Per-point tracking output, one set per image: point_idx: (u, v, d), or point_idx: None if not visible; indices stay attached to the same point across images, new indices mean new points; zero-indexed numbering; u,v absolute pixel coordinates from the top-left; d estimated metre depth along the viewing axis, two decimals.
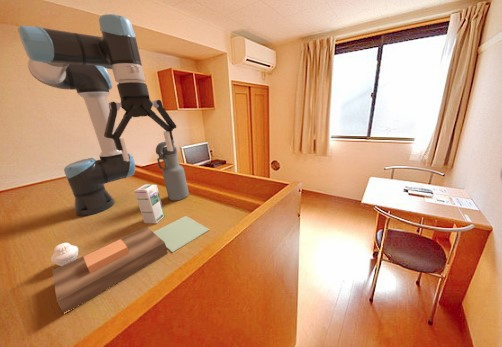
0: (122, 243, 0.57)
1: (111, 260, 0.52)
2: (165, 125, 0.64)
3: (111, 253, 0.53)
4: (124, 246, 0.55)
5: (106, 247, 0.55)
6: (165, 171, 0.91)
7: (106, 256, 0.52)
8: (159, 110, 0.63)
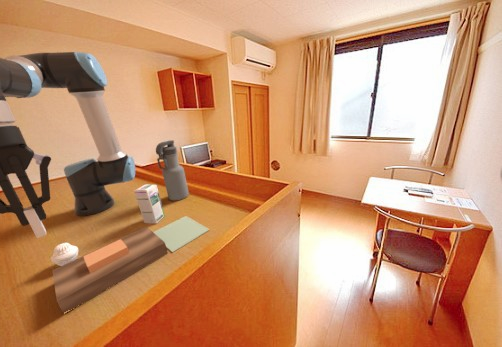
0: (122, 243, 0.57)
1: (111, 260, 0.52)
2: (31, 196, 0.41)
3: (111, 253, 0.53)
4: (124, 246, 0.55)
5: (106, 247, 0.55)
6: (165, 171, 0.91)
7: (106, 256, 0.52)
8: (39, 168, 0.42)
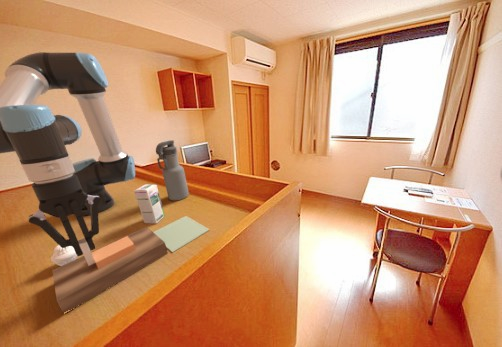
0: (129, 240, 0.58)
1: (118, 256, 0.54)
2: (85, 232, 0.49)
3: (118, 250, 0.54)
4: (131, 243, 0.56)
5: (113, 244, 0.57)
6: (165, 171, 0.91)
7: (114, 252, 0.53)
8: (91, 207, 0.50)
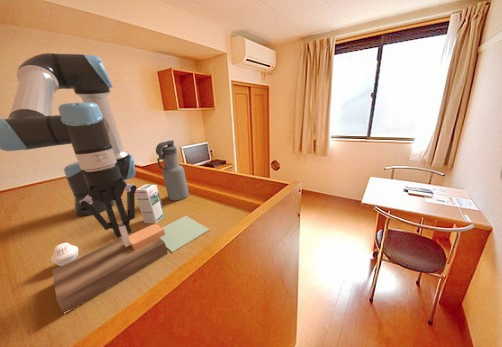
0: (158, 226, 0.63)
1: (151, 240, 0.59)
2: (124, 216, 0.55)
3: (151, 234, 0.60)
4: (161, 228, 0.62)
5: (145, 229, 0.62)
6: (165, 171, 0.91)
7: (147, 236, 0.59)
8: (128, 195, 0.56)
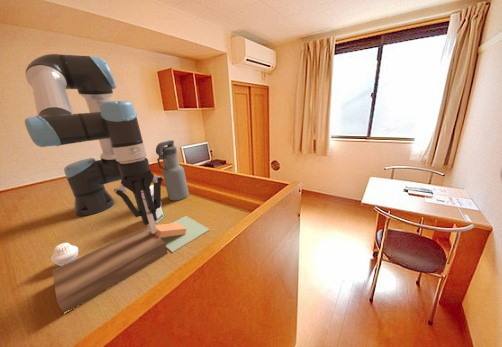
0: (181, 225, 0.70)
1: (174, 234, 0.65)
2: (151, 205, 0.60)
3: (175, 229, 0.65)
4: (184, 227, 0.68)
5: (169, 224, 0.68)
6: (165, 171, 0.91)
7: (172, 229, 0.64)
8: (155, 185, 0.61)
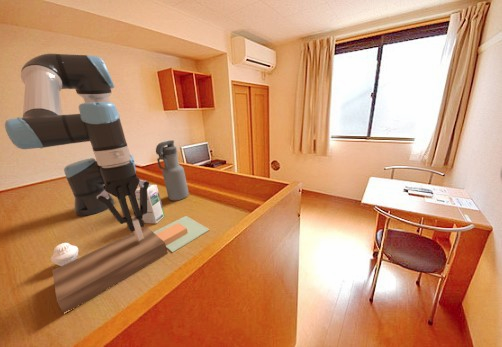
0: (181, 225, 0.70)
1: (176, 238, 0.65)
2: (137, 211, 0.57)
3: (176, 232, 0.66)
4: (184, 227, 0.68)
5: (169, 228, 0.68)
6: (165, 171, 0.91)
7: (173, 234, 0.65)
8: (141, 190, 0.58)
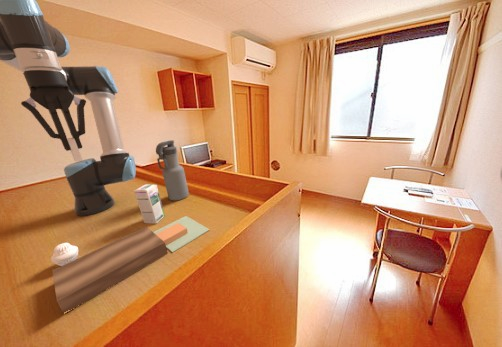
0: (181, 225, 0.70)
1: (176, 238, 0.65)
2: (72, 128, 0.55)
3: (176, 232, 0.66)
4: (184, 227, 0.68)
5: (169, 228, 0.68)
6: (165, 171, 0.91)
7: (173, 234, 0.65)
8: (77, 108, 0.56)
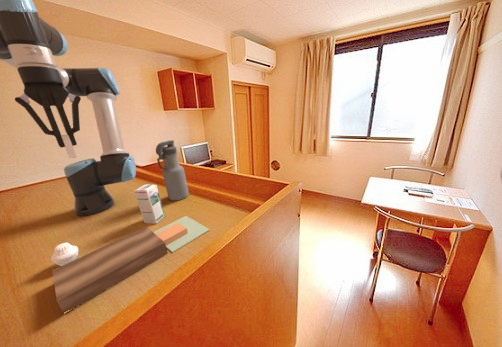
0: (181, 225, 0.70)
1: (176, 238, 0.65)
2: (66, 125, 0.55)
3: (176, 232, 0.66)
4: (184, 227, 0.68)
5: (169, 228, 0.68)
6: (165, 171, 0.91)
7: (173, 234, 0.65)
8: (72, 105, 0.56)
